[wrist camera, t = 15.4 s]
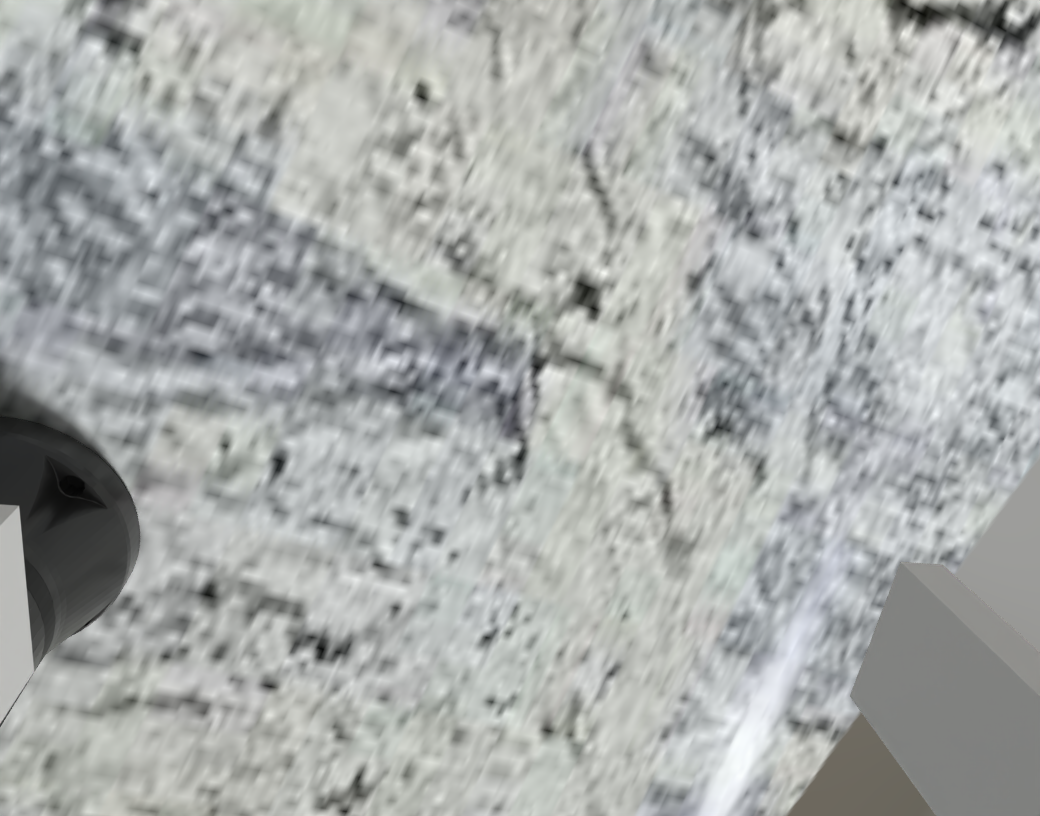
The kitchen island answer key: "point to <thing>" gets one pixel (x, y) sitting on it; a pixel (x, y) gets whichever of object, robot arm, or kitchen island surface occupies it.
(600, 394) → the kitchen island surface
